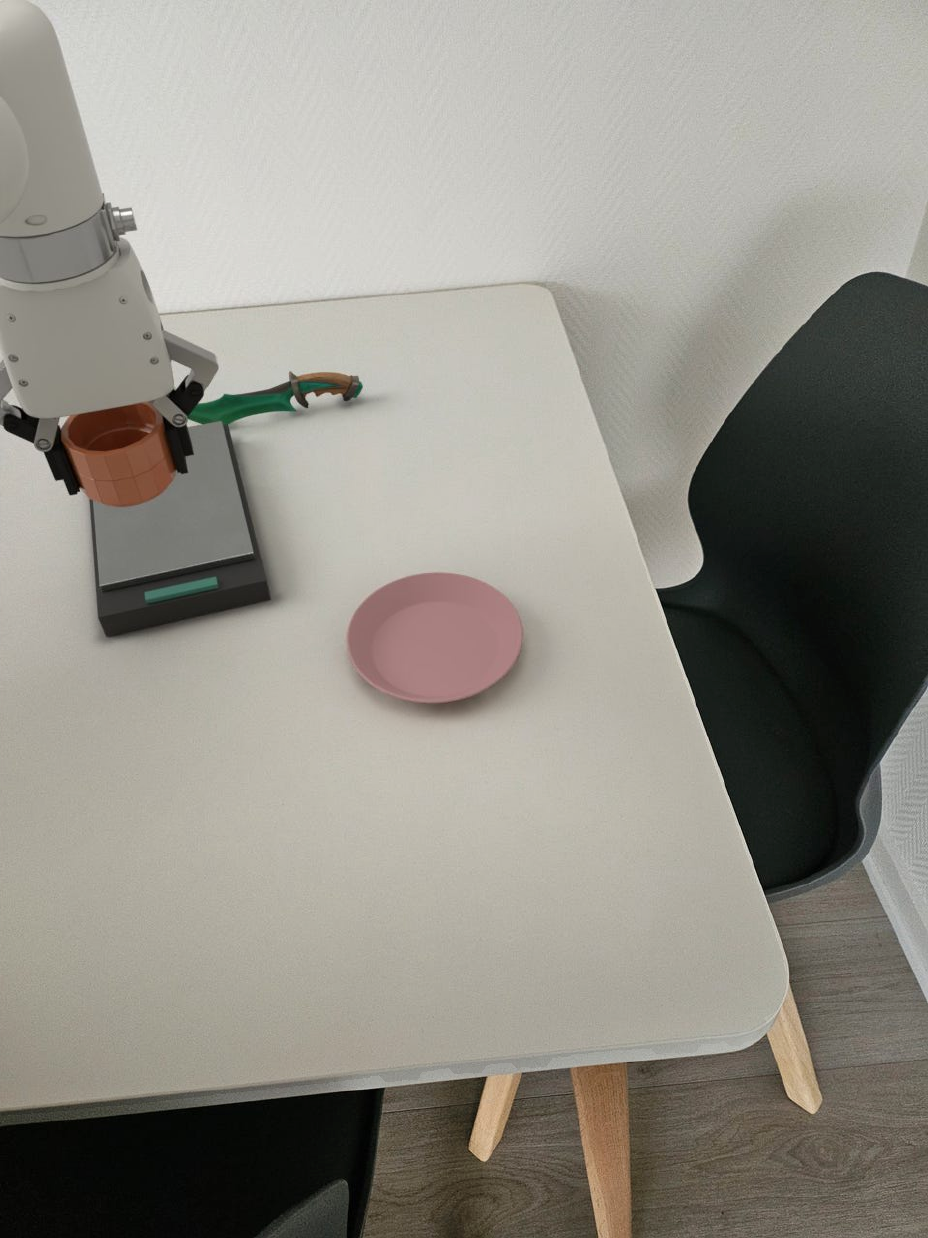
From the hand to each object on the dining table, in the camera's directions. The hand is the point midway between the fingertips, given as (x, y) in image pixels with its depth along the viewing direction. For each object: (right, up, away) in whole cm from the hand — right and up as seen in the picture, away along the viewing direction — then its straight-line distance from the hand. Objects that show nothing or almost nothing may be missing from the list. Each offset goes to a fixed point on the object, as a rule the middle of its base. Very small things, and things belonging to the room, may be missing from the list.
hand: (128, 471), depth 72 cm
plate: (+22, -13, +9) cm, 28 cm away
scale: (-2, -2, +20) cm, 20 cm away
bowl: (0, -1, +1) cm, 1 cm away
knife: (+4, +10, +32) cm, 34 cm away
